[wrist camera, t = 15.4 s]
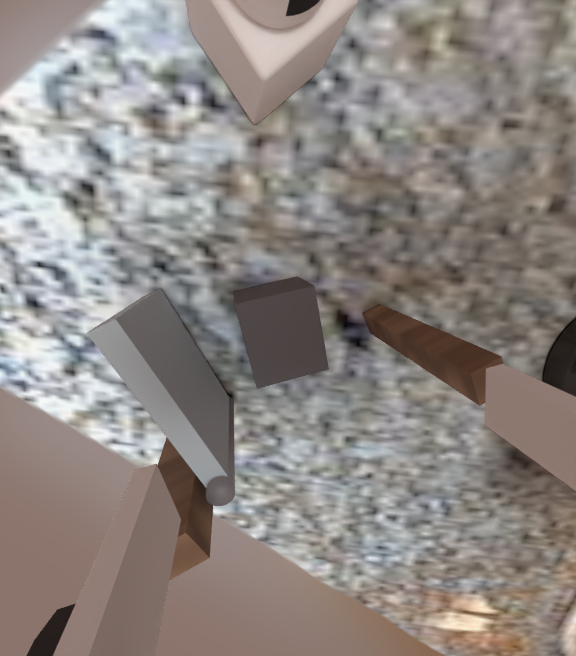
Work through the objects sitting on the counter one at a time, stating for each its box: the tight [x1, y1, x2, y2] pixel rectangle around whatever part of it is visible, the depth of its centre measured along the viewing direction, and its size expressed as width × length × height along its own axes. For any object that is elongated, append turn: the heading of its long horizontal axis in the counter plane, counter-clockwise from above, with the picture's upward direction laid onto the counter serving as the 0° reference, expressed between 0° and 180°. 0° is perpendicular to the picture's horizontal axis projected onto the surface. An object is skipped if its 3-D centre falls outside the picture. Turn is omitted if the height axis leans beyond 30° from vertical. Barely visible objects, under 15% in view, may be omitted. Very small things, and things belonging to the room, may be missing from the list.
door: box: [87, 288, 235, 506], centre depth 22 cm, size 3×13×11 cm, turn 25°
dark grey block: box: [234, 277, 329, 389], centre depth 25 cm, size 7×6×6 cm
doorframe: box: [158, 304, 503, 580], centre depth 23 cm, size 2×24×14 cm, turn 117°
